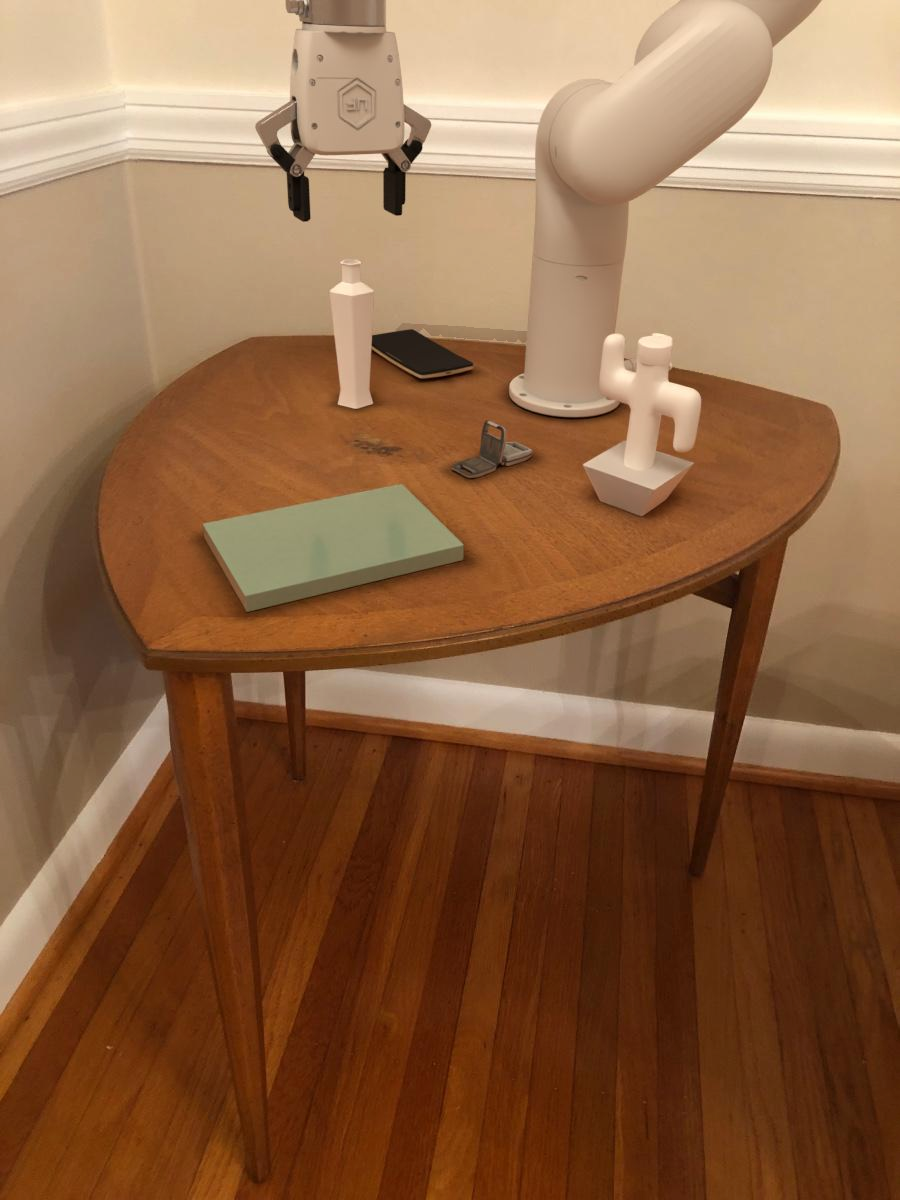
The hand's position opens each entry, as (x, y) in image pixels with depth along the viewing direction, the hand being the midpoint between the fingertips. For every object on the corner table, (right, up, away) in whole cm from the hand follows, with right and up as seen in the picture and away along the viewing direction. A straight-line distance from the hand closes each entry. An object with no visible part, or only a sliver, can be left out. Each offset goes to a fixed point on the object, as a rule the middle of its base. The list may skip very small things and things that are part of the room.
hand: (348, 215), depth 93 cm
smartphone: (+6, -8, +23) cm, 25 cm away
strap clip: (+14, -25, -2) cm, 29 cm away
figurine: (+27, -29, -7) cm, 40 cm away
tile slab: (0, -34, -16) cm, 38 cm away
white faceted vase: (0, -16, +11) cm, 20 cm away
